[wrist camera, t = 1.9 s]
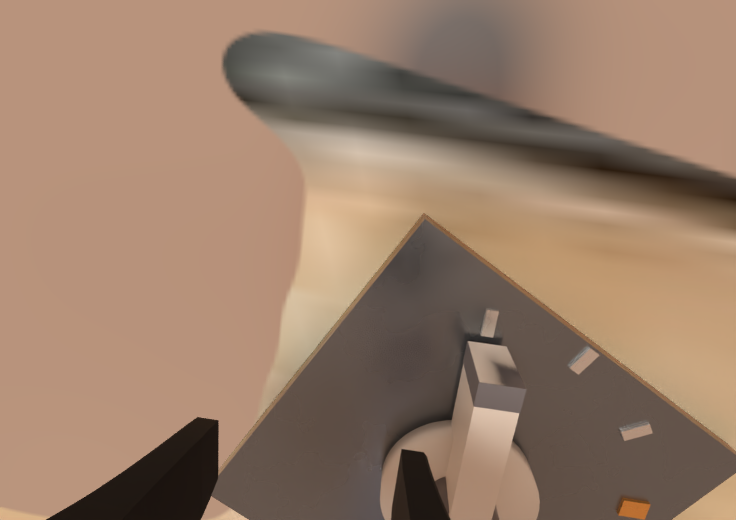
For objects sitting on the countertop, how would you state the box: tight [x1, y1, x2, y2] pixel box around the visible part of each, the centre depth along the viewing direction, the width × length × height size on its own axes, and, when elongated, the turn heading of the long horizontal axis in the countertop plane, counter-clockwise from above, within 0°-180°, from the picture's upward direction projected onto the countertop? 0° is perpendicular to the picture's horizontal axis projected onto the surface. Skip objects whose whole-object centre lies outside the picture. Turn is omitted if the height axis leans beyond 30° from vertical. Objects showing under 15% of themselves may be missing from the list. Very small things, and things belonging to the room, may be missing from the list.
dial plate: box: [211, 214, 736, 520], centre depth 21 cm, size 18×18×1 cm
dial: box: [380, 341, 540, 520], centre depth 18 cm, size 11×7×3 cm, turn 174°
